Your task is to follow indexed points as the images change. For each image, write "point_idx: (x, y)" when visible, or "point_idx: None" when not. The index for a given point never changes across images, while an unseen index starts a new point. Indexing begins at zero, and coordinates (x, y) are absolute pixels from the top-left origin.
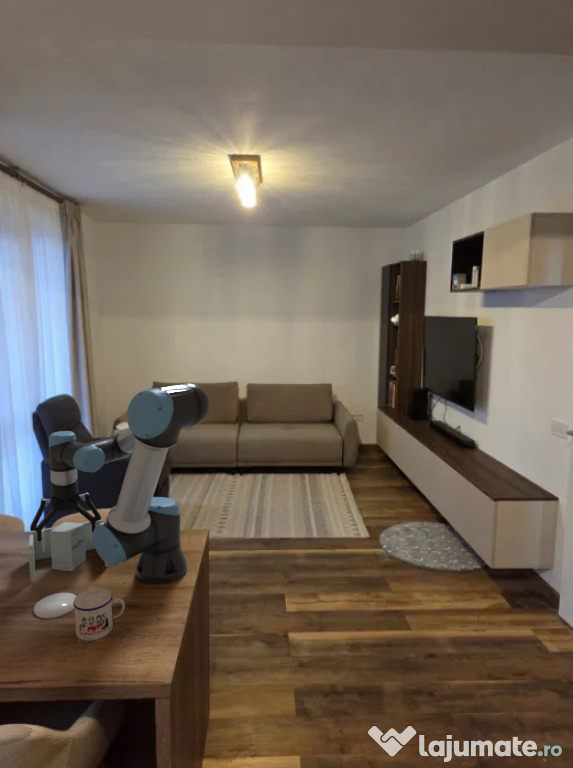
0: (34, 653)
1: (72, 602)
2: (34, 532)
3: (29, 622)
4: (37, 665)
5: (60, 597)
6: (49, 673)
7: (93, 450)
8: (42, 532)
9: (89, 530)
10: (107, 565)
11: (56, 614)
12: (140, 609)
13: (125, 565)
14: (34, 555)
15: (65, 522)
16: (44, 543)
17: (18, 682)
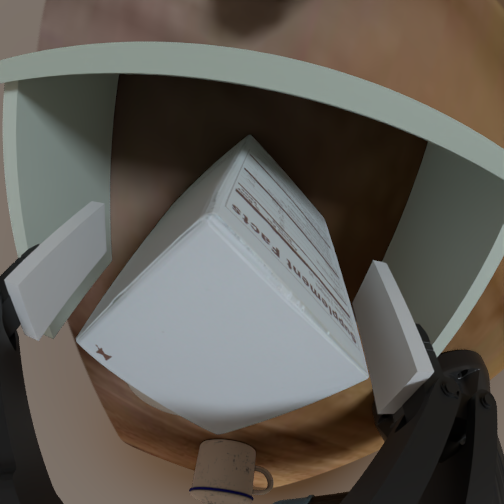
0: (144, 435)
1: None
2: (17, 81)
3: (125, 393)
4: (150, 445)
5: None
6: (164, 455)
7: None
8: (32, 333)
9: (370, 373)
10: None
11: (171, 413)
12: (311, 448)
13: None
14: (93, 110)
15: (214, 250)
16: (81, 281)
17: (133, 446)
